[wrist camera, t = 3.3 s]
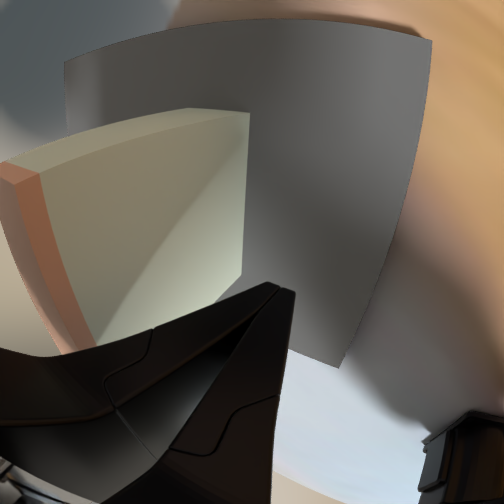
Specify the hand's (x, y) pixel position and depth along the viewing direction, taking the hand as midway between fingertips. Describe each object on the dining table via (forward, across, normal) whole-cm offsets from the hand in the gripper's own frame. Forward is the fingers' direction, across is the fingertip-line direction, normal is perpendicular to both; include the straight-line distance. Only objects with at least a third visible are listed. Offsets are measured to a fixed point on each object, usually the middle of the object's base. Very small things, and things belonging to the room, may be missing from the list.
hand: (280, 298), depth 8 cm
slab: (+5, +6, 0) cm, 7 cm away
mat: (+6, +8, 0) cm, 10 cm away
